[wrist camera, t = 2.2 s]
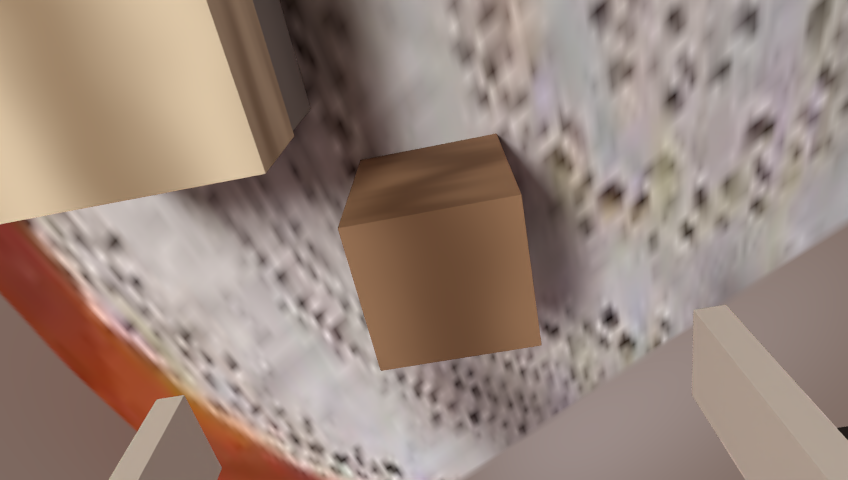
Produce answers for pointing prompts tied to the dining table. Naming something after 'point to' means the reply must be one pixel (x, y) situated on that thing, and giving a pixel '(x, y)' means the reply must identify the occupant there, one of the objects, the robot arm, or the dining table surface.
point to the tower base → (283, 59)
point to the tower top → (131, 101)
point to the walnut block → (440, 253)
